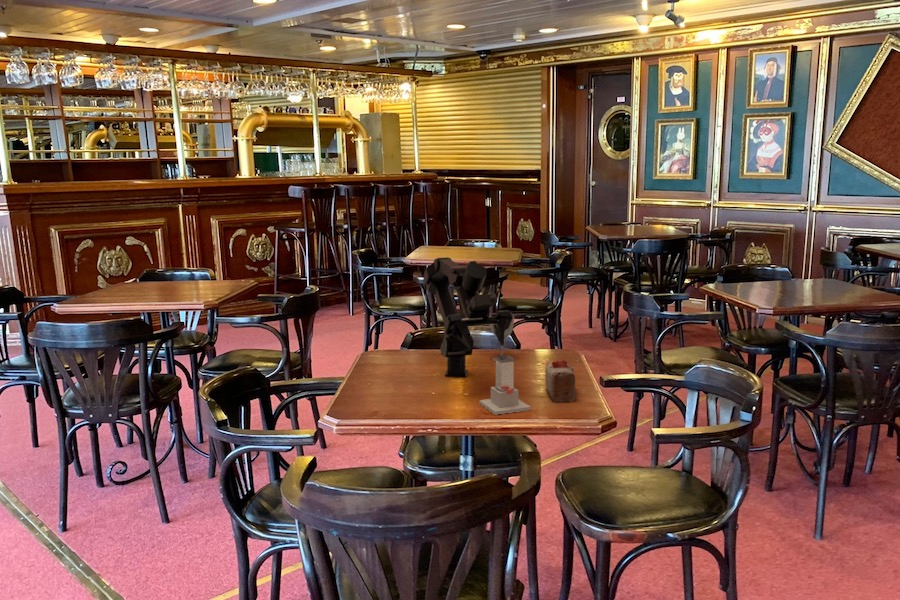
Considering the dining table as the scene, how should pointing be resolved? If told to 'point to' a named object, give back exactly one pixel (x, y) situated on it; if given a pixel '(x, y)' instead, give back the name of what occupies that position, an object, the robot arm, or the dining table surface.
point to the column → (504, 372)
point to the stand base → (504, 402)
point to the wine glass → (506, 333)
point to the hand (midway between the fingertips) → (487, 346)
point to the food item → (560, 381)
